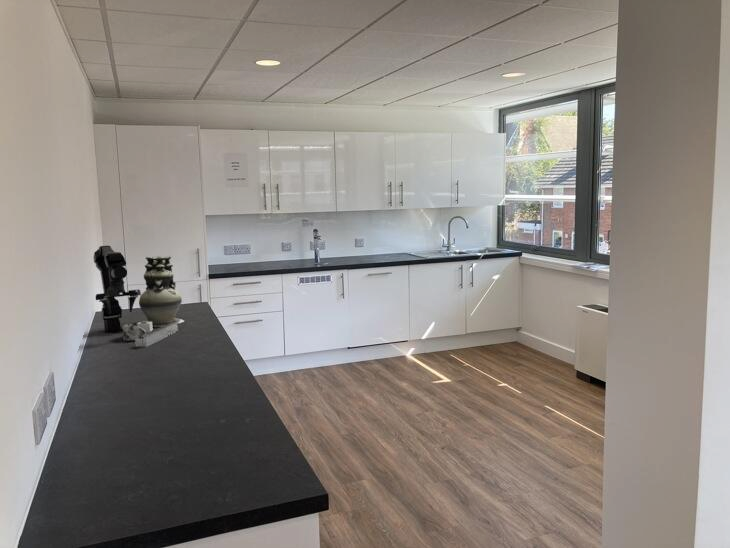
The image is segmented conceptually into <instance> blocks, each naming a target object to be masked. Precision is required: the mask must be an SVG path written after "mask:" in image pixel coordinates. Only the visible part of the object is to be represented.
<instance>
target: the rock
mask: <svg viewBox="0 0 730 548" xmlns="http://www.w3.org/2000/svg"><path fill="white" fill-rule="evenodd" d="M121 328H122V329H121V330H123V331H122V333H123V335H122V336H123V337H122V338H123V341H124V342H130V341H135V339H143V337H142V335H144V334H146V333H147V332H146V330H145V329H143V328H141V327H138V326H137V324H136V325H135V324H133V323H127V324H123V325H122V326H121Z"/></svg>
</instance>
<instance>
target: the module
mask: <svg viewBox="0 0 730 548" xmlns="http://www.w3.org/2000/svg"><path fill="white" fill-rule="evenodd" d="M136 326H138V327H141V328H143V329H145V330H146V333H149V332H150V331H152V330H154V328H153V327H154V326H152V322H148V320H142V321H139V322H137V323H136Z"/></svg>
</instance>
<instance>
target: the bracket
mask: <svg viewBox="0 0 730 548" xmlns="http://www.w3.org/2000/svg"><path fill="white" fill-rule="evenodd" d="M178 324H179V323H178V321H173V322H171V323H168V324H166V325H164V326H159V327H158V328H155V329H153V331H151V332H146V334H144V335H142V337H143V339H135V340H134V341H135V342H134V343H135V347H136V348H137V347H139V348H141V347H142V348H143V347H144V348H146V347H149V346H151V345H154V344H155V343H158V342H159V341H161V340H164V339H165V338H167V337H169V336H171V335H173V334H175V333H177V332H178V331H179V330H178V328H179V327H178ZM176 331H177V332H176ZM170 334H171V335H170ZM168 335H169V336H168Z"/></svg>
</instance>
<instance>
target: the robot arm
mask: <svg viewBox="0 0 730 548" xmlns="http://www.w3.org/2000/svg"><path fill="white" fill-rule="evenodd" d="M93 263H94V264H95V268H96V269H97V270H98V271H99V272H100V276H101V283H102V290H103V293H96V295H95V301H98V302H101V303H102V304H101V305H102V306H101V312H100V317H101V320H102V321H103V323H104V326H103V327H104V329H103V330H102V333H116V332H118V331H120V330H123V329H122V326H121V321H120V319H122V318H123V317H122V314H123V309H122V306H121V305H120V302H119V300H118V299H116V298H117V297H118V298H119V297H127V298H128V304H129V312H130V313H133V307H134V304H135V301H136V299H137V298H139V296H141V295H142V293H141V289H130V290H128V291H126V290H125V281H124V279H125V278H126V277H127V276H128V270H127V268H126V265H127V261H126V258H125V256H124V255H123V253H121V252H120V251H114V249H113V248H112V247H111V245H100V246H99V247H98V249H97V250H96V251H94V252H93Z"/></svg>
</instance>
